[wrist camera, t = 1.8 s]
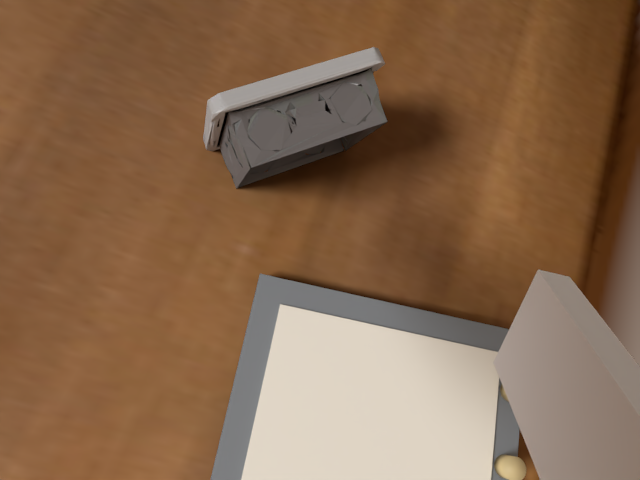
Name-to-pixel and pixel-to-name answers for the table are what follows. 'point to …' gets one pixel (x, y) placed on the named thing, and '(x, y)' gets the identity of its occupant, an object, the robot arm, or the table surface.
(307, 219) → the table surface
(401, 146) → the table surface
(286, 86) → the electrical switch
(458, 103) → the table surface
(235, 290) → the table surface
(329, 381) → the plate
